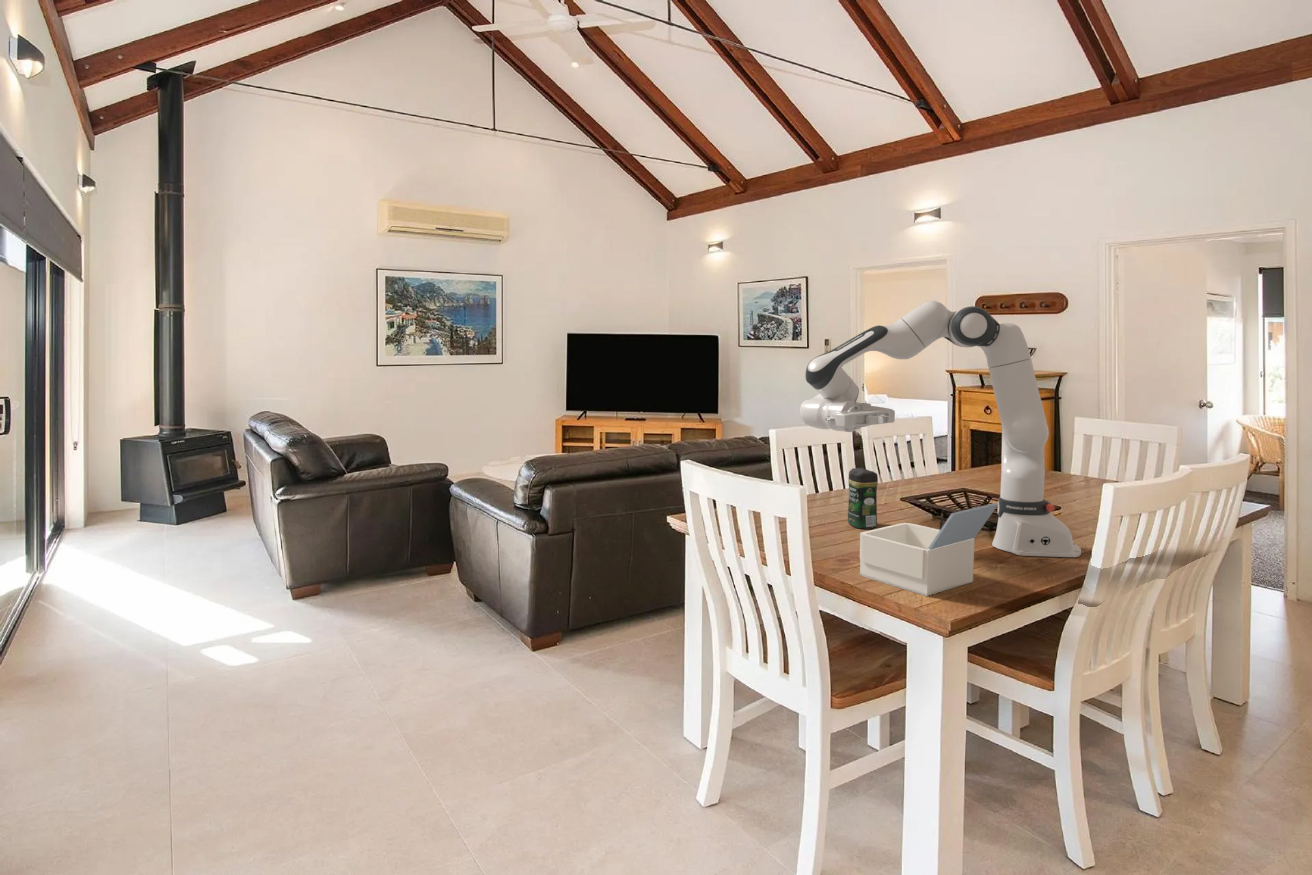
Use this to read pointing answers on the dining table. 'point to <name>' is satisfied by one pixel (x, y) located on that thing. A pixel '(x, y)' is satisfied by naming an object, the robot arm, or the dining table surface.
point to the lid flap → (963, 525)
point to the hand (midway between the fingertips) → (886, 420)
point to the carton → (915, 559)
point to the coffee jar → (862, 498)
